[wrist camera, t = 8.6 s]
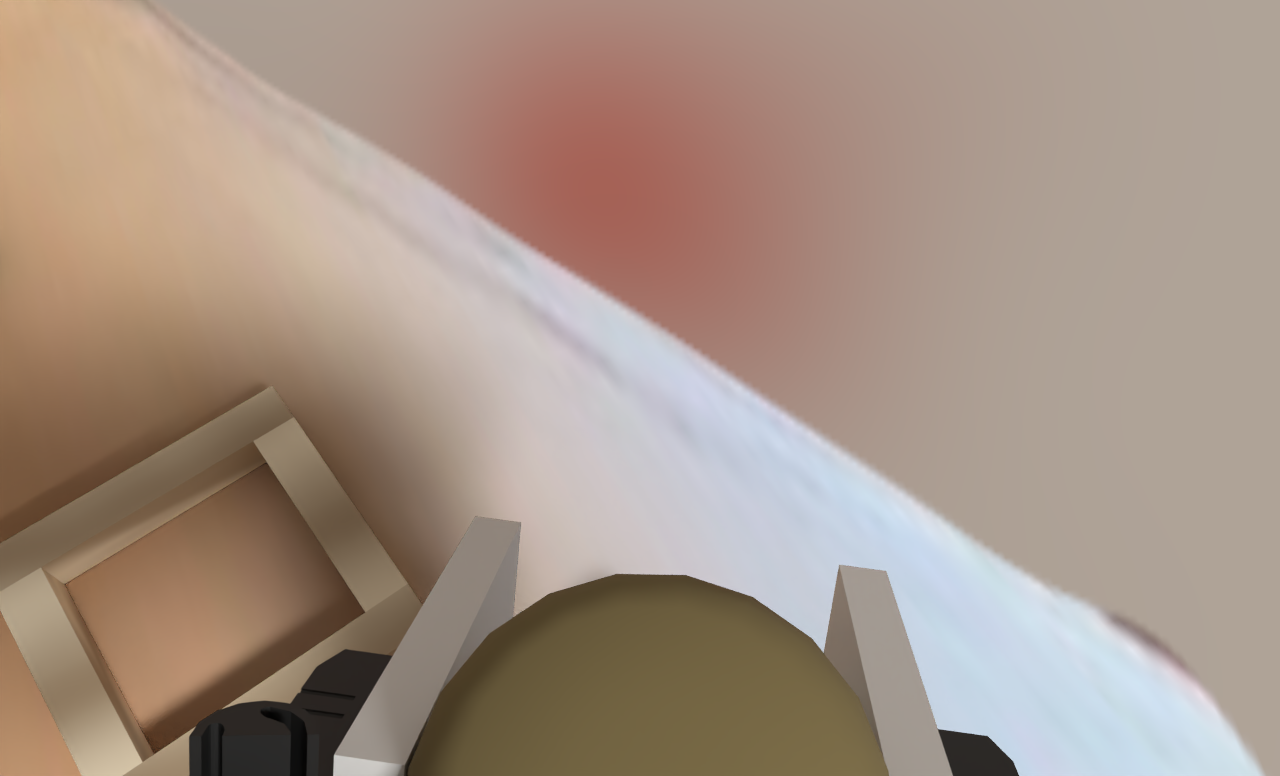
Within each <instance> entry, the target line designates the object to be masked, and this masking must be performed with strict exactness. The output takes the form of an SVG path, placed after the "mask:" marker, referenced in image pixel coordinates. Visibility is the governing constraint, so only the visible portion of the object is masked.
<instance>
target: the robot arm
mask: <svg viewBox="0 0 1280 776" xmlns="http://www.w3.org/2000/svg"><path fill="white" fill-rule="evenodd" d="M520 529H521V522H514V521H507V520H499V519H492V518H484V517H477V516H475V518H474V520H473V521H472V523H471V525H470V526H469V528H468V530H467V532H466V533H465V535H464V537H463V538H462V540H461V542H460V543H459V545H458V547H457V548H456V550H455V552H454V553H453V555H452V557H451V559H450V560H449V562H448V564H447V565H446V567H445V569H444V570H443V572H442V574H441V575H440V577H439V579H438V580H437V582H436V584H435V585H434V587H433V589H432V591H431V592H430V594H429V596H428V597H427V599H426V601H425V602H424V604H423V606H422V607H421V609H420V611H419V612H418V614H417V616H416V618H415V619H414V621H413V623H412V624H411V626H410V628H409V629H408V631H407V633H406V634H405V636H404V638H403V639H402V641H401V643H400V644H399V646H398V648H397V650H396V651H395V653H394V655H393V656H391V655H384V654H377V653H370V652H363V651H355V650H348V649H344V650H343V651H341V652H340V653H338V654H336V655H335V656H333V657H331V658H330V659H328V660H326V661H325V662H323V663H321V664H320V665H318V666H317V667H316V668H315V670H314V671H313V672H312V674H311V675H310V677H309V678H308V679H307V681H306V682H305V684H304V685H303V686H302V688H301V692H300V693H297V695H296V696H295V698H294V699H293V700H292V702H291V703H290V704H289V703H285V702H275V701H265V700H263V701H254V702H245V703H239V704H236V705H233V706H230V707H227V708H223V709H220V710H217V711H216V712H214V713H213V714H211V715H209V716H208V717H206V718H205V719H203V720H202V721H200V722H199V723H198V724H197V726H196V727H195V729H194V730H193V731H192V733H191V734H190V736H189V776H407V771H408V768H409V765H410V763H411V761H412V758H413V756H414V753H415V751H416V749H417V746H418V744H419V742H420V739H421V737H422V735H423V732H424V730H425V728H426V725H427V723H428V720H429V718H430V716H431V713H432V711H433V709H434V706H435V704H436V702H437V699H438V697H439V695H440V693H441V691H442V690H443V689H444V687H445V686H446V685H447V684H448V683H449V681H450V680H451V679H452V678H453V677H454V675H455V674H456V673H457V672H458V671H459V669H460V668H461V667H462V666H463V664H464V663H465V662H466V661H467V660H468V658H469V657H470V656H471V655H472V654H473V652H474V651H475V650H476V649H477V648H478V646H479V645H480V644H481V643H482V642H483V640H484V639H485V638H486V637H487V636H488V634H489V633H491V632H492V631H494V630H495V629H497V628H498V627H500V626H501V625H503V624H504V623H506V622H507V621H509V620H510V619H512V618H513V612H514V600H515V588H516V576H517V564H518V552H519V540H520ZM824 654H825V656H826V657H827V658H828V659H829V661H830V662H831V663H832V665H833V666H834V667H835V668H836V670H837V671H838V672H839V673H840V675H841V676H842V677H843V678H844V680H845V681H846V682H847V683H848V685H849V686H850V687H851V688H852V690H853V691H854V692H855V693H856V695H857V696H858V697H859V699H860V702H861V704H862V707H863V709H864V712H865V714H866V717H867V719H868V722H869V724H870V726H871V729H872V731H873V734H874V736H875V739H876V741H877V744H878V746H879V749H880V751H881V754H882V756H883V759H884V761H885V763H886V766H887V768H888V771H889V776H1019V775H1018V772H1017V770H1016V767H1015V765H1014V763H1013V761H1012V760H1011V759H1010V758H1009V757H1008V756H1007V755H1006V754H1005V753H1004V752H1003V751H1002V750H1001V749H1000V748H999V747H998V746H997V745H996V744H995V743H994V742H993V741H992V740H991V739H990V738H989V737H988V736H982V735H975V734H968V733H961V732H954V731H947V730H939V729H938V728H937V725H936V722H935V719H934V716H933V713H932V710H931V707H930V704H929V701H928V698H927V695H926V692H925V689H924V685H923V682H922V679H921V676H920V673H919V670H918V667H917V664H916V661H915V658H914V655H913V652H912V649H911V646H910V643H909V639H908V636H907V633H906V630H905V627H904V624H903V621H902V618H901V615H900V612H899V609H898V606H897V603H896V600H895V597H894V594H893V590H892V587H891V584H890V581H889V578H888V575H887V572H886V571H882V570H874V569H867V568H859V567H852V566H845V565H839V569H838V574H837V580H836V586H835V591H834V597H833V603H832V609H831V614H830V620H829V626H828V632H827V637H826V643H825V649H824Z"/></svg>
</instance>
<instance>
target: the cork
mask: <svg viewBox="0 0 1280 776" xmlns="http://www.w3.org/2000/svg"><path fill="white" fill-rule="evenodd" d="M407 776H889V771H888V768H887V766H886V763H885V761H884V759H883V756H882V754H881V751H880V749H879V746H878V744H877V741H876V739H875V736H874V734H873V731H872V729H871V726H870V724H869V722H868V719H867V717H866V714H865V712H864V709H863V707H862V704H861V702H860V699H859V697H858V696H857V695H856V693H855V692H854V691H853V690H852V688H851V687H850V686H849V685H848V683H847V682H846V681H845V680H844V678H843V677H842V676H841V675H840V673H839V672H838V671H837V670H836V668H835V667H834V666H833V665H832V663H831V662H830V661H829V659H828V658H827V657H826V656H825V654H824V653H823V652H822V651H821V649H820V648H819V647H818V646H817V644H816V643H815V642H814V641H813V639H812V638H810V637H809V636H808V635H806V634H805V633H803V632H802V631H800V630H799V629H798V628H796V627H795V626H793V625H792V624H790V623H789V622H788V621H786V620H785V619H783V618H782V617H780V616H779V615H778V614H776V613H775V612H773V611H772V610H770V609H769V608H768V607H766V606H765V605H763V604H762V603H760V602H759V601H757V600H756V599H755V598H753V597H751V596H748V595H745V594H742V593H739V592H736V591H733V590H729V589H726V588H723V587H720V586H717V585H714V584H711V583H708V582H705V581H702V580H699V579H696V578H693V577H690V576H687V575H641V574H615V575H612V576H608V577H605V578H601V579H598V580H595V581H591V582H588V583H584V584H581V585H577V586H574V587H571V588H567V589H564V590H560V591H557V592H554V593H550V594H548V595H547V596H545V597H544V598H542V599H541V600H539V601H538V602H536V603H535V604H533V605H532V606H530V607H528V608H527V609H525V610H524V611H522V612H521V613H519V614H518V615H516V616H515V617H513V618H512V619H510V620H509V621H507V622H506V623H504V624H503V625H501V626H500V627H498V628H497V629H495V630H494V631H492V632H491V633H489V634H488V636H487V637H486V638H485V639H484V640H483V642H482V643H481V644H480V645H479V646H478V648H477V649H476V650H475V651H474V652H473V654H472V655H471V656H470V657H469V658H468V660H467V661H466V662H465V663H464V664H463V666H462V667H461V668H460V669H459V671H458V672H457V673H456V674H455V675H454V677H453V678H452V679H451V680H450V681H449V683H448V684H447V685H446V686H445V687H444V689H443V690H442V691H441V693H440V695H439V697H438V699H437V702H436V704H435V706H434V709H433V711H432V713H431V716H430V718H429V720H428V723H427V725H426V728H425V730H424V732H423V735H422V737H421V739H420V742H419V744H418V746H417V749H416V751H415V753H414V756H413V758H412V761H411V763H410V765H409V768H408V771H407Z"/></svg>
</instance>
